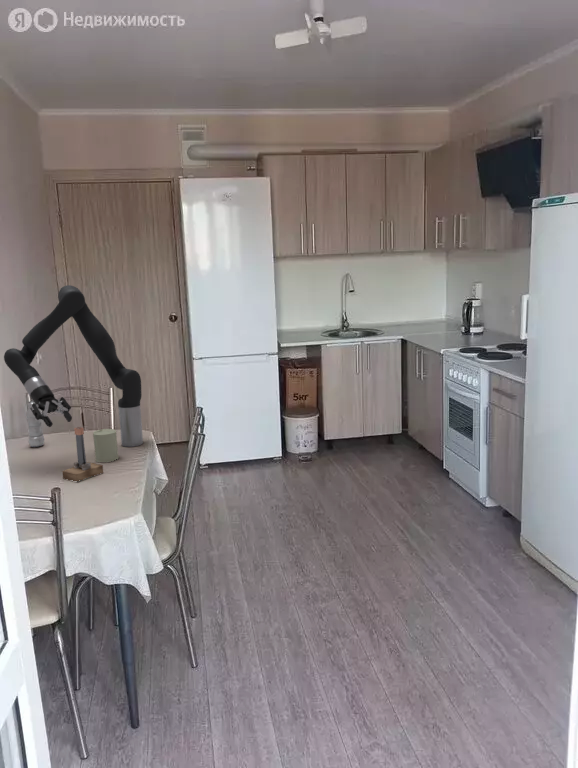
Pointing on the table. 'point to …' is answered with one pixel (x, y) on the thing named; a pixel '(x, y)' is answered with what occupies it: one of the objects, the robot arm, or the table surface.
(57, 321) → the robot arm
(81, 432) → the bar
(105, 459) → the can
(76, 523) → the table surface
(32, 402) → the plastic bottle
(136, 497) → the table surface
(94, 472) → the stand
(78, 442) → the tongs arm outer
